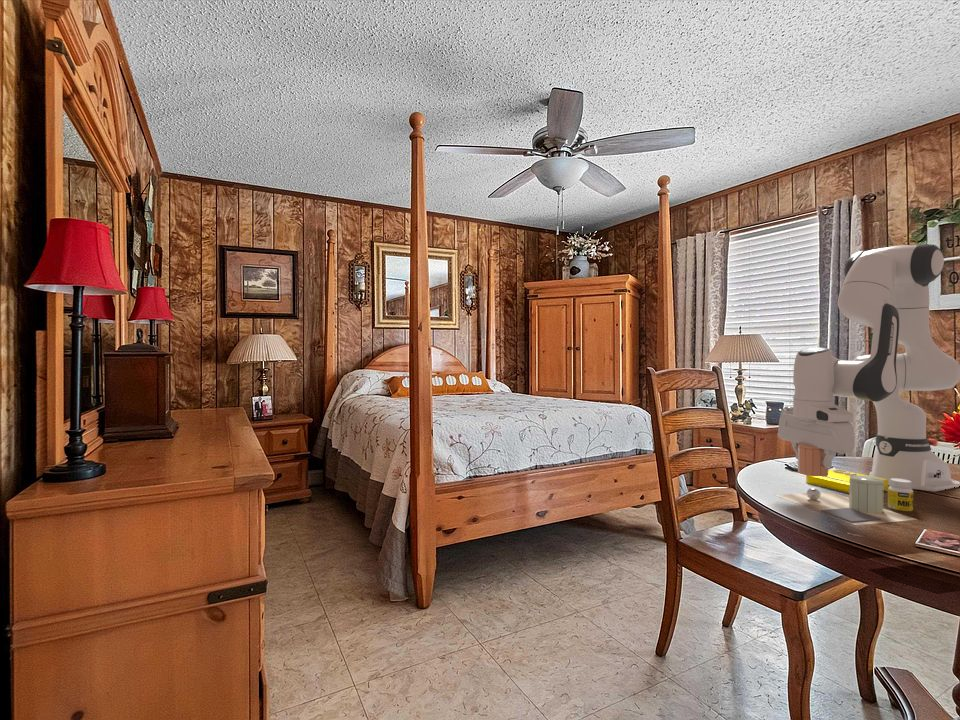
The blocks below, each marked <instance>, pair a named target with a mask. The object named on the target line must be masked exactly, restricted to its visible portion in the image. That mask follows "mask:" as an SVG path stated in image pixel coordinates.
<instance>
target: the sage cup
mask: <svg viewBox="0 0 960 720" xmlns="http://www.w3.org/2000/svg"><path fill="white" fill-rule="evenodd" d="M884 492H885V491H884V483H883V480H882V479H879V478H875V477H870V476H869V475H868V476H860V475H854V476H850V480H849V493H848V494H849V495H848V498H849V507H850V508H851V509H853V510H856V511H860V512H865V513H873V514H878V513H883V509H884V500H885V499H884Z"/></svg>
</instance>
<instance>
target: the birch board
mask: <svg viewBox="0 0 960 720" xmlns="http://www.w3.org/2000/svg"><path fill="white" fill-rule="evenodd" d="M819 492H820V494H821V496H820V498H819V499H818V500H811V499H810V498H809V497H808V496H807V492H806V493H805V492H804V493H801V492H800V493H789V494H777V495H775V496H776V497H778V498H781V499H784V500H787V501H790V502H791V503H795V504H797V505H800V506H802V507H805V508H808V509H810V510H814V511H816V512H819V513H821V514H824V515H826V516H830V517H832V518H836V519H837V520H840V521H843V522H846V523H848V524H851V525H854V526H865V525H866V526H867V525H876V524H885V523H888V524H889V523H896V522H898V523H899V522H907V521H918V520H919V519H917V518H915V517H912V516H908V515H904V514H903V513H899V512H895V511H892V510H889V509H886V508H883V513H878V514H873V513H865V512H862V513H865V514H868V515H871V516H874V517H877V518H880V519H881V520H877V521H866V522H855V523H851V522H848V521H846V520H843V519H840V518H837V517H835V516H832V515H829V514H826V513H824V512H821V510H829V509H841V508H850V507H849V496H844V495H842V494H839V493H836V492H832V491H829V490H827V491H819ZM850 509H851V508H850ZM859 512H860V511H859Z"/></svg>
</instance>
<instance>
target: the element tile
mask: <svg viewBox="0 0 960 720" xmlns="http://www.w3.org/2000/svg"><path fill="white" fill-rule="evenodd" d="M854 475H860V476H869V474H868V475H867V474H863V473H858V472H853V471H848V470H846V469H840V468H833V469H828V476H822V477H818V476H809V475H805V482H806V483H807V484H809V485H814V486H818V487H823V488H826V489H829V490H830V489H831V490H835V491H839V492H844V493H846V494H847V493H848V494H849V480H850V476H854ZM870 477H873V476H870ZM875 478H878V477H875ZM879 479H882V478H879ZM882 480H883V483H884V492H888V487H889V485H888V481H887V480H886V479H882Z"/></svg>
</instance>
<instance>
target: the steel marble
mask: <svg viewBox="0 0 960 720" xmlns="http://www.w3.org/2000/svg"><path fill="white" fill-rule="evenodd" d="M820 492H821V491H820V490H819V489H818V488H814V487H811V488H809V489H807V491H806V493H807V496H808V497H809V498H810V499H811V500H818V499H819V498H820V496H821V494H820Z"/></svg>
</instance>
